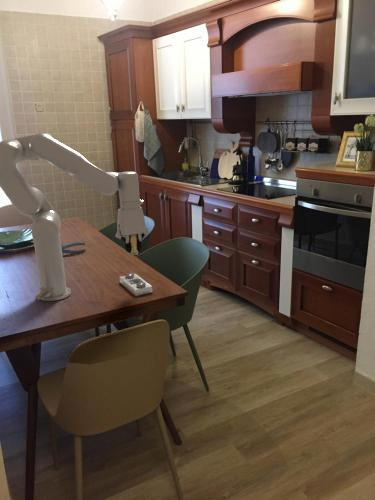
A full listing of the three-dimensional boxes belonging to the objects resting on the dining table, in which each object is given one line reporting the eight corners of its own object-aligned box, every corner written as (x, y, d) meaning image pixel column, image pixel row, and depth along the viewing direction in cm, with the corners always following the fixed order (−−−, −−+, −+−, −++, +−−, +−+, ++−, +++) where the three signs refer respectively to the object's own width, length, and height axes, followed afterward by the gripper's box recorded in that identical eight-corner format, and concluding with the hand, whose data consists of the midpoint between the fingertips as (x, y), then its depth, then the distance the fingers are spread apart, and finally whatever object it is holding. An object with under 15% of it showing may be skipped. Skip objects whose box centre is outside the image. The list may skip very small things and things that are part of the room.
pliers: (45, 258, 215) (44, 247, 214) (45, 257, 217) (43, 245, 215) (86, 252, 223) (85, 241, 221) (85, 251, 224) (84, 240, 223)
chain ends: (152, 292, 169) (151, 283, 168) (135, 296, 166) (134, 287, 165) (135, 279, 183) (135, 271, 182) (120, 282, 180) (119, 274, 179)
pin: (136, 255, 169) (135, 235, 166) (128, 255, 169) (126, 235, 167) (139, 252, 172) (137, 233, 169) (130, 252, 172) (129, 233, 170)
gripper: (146, 201, 172) (149, 245, 177) (105, 206, 164) (110, 252, 170) (154, 203, 165) (156, 250, 171) (112, 209, 158) (116, 257, 163)
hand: (133, 250), depth 170 cm, fingers closed on pin, 3 cm apart
